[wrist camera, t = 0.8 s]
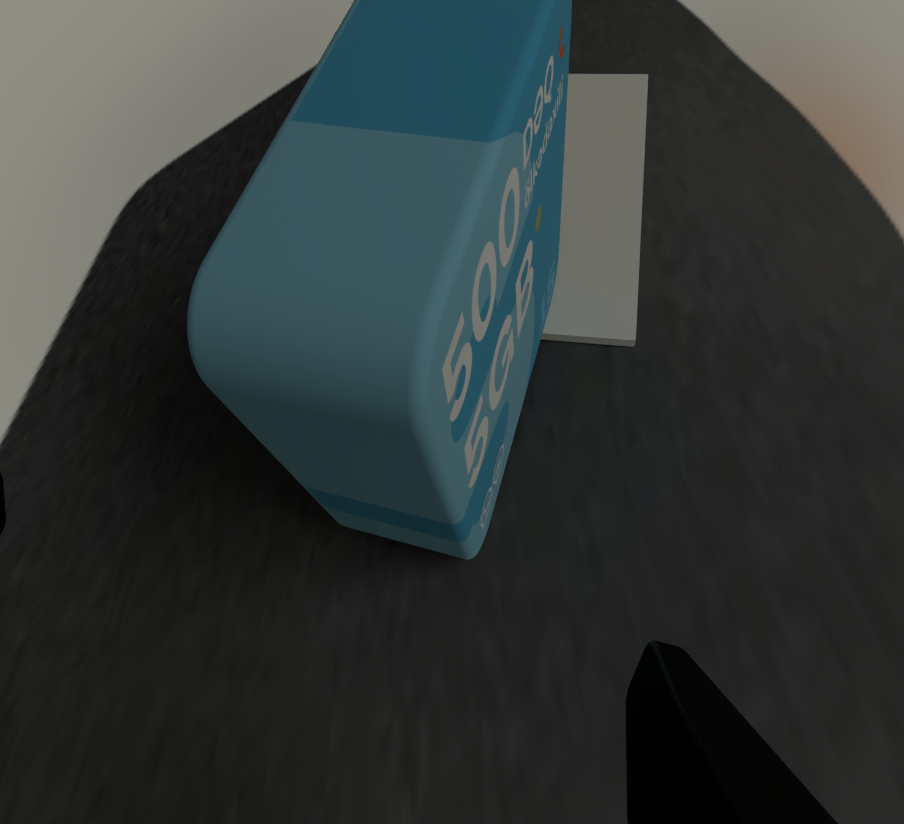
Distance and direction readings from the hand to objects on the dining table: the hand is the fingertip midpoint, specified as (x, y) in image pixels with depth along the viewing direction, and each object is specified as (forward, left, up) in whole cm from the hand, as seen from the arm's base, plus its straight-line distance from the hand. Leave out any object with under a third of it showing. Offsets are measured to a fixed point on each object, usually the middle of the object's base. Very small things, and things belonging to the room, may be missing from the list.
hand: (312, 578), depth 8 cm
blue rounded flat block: (+9, +1, -11) cm, 15 cm away
